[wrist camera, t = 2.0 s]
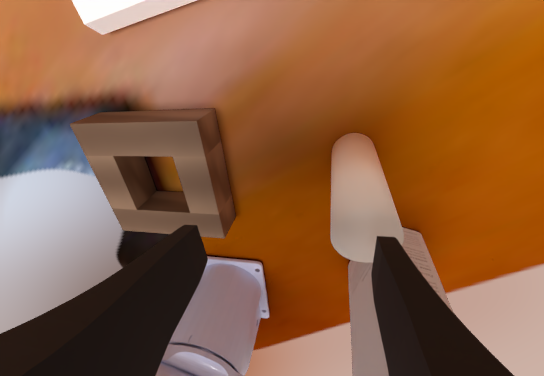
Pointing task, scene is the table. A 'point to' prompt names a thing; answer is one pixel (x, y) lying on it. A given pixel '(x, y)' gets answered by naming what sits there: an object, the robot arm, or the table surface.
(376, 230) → the peg
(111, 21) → the marker
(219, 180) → the brown square frame
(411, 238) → the skincare box
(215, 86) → the table surface
